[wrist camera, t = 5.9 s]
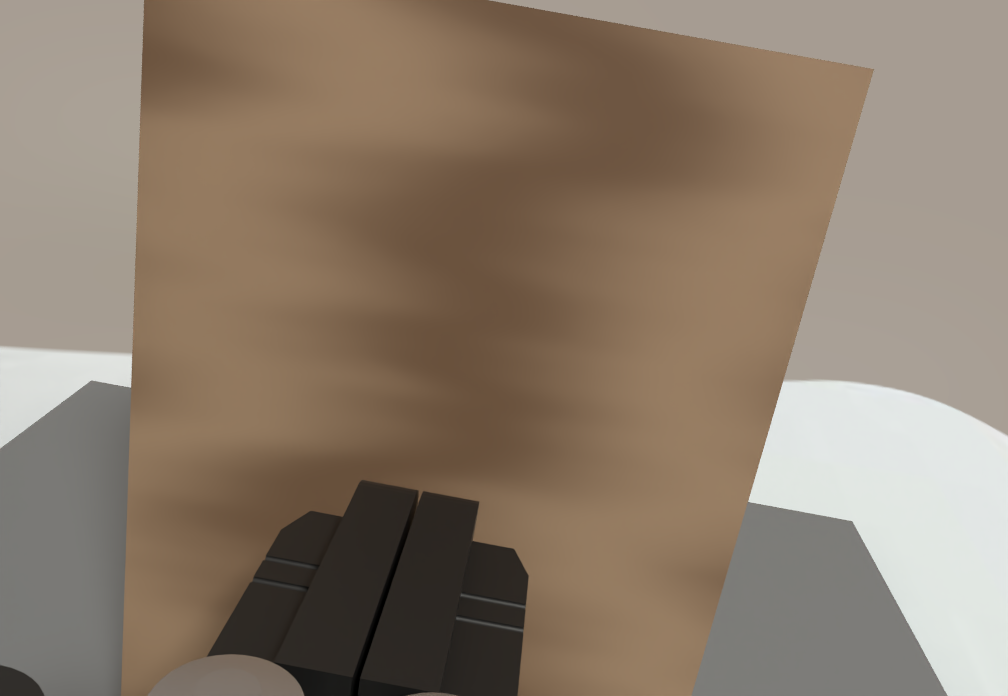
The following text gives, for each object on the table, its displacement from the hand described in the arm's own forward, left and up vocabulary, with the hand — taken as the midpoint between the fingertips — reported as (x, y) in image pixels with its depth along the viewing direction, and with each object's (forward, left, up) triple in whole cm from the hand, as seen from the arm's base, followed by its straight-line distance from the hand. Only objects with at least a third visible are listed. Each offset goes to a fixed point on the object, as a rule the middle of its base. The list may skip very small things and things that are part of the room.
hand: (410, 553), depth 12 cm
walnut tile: (0, +3, -6) cm, 7 cm away
